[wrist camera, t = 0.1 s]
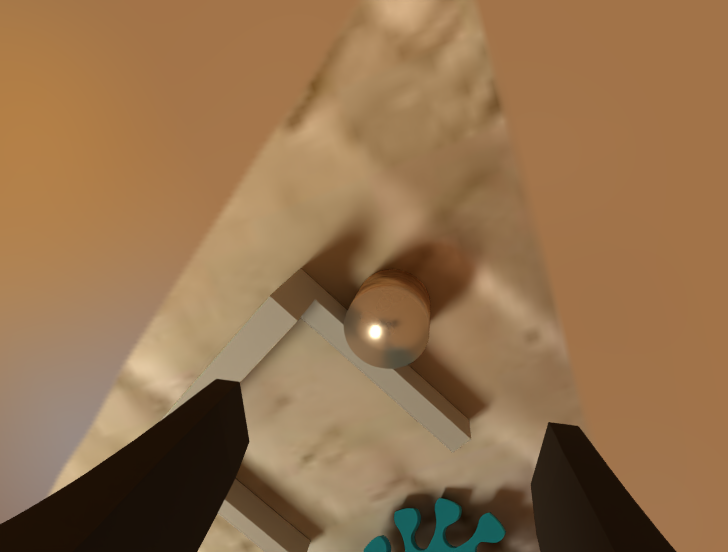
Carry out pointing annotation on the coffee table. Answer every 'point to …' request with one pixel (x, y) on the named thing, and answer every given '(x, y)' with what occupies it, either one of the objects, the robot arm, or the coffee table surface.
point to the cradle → (327, 319)
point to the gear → (439, 530)
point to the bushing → (389, 319)
